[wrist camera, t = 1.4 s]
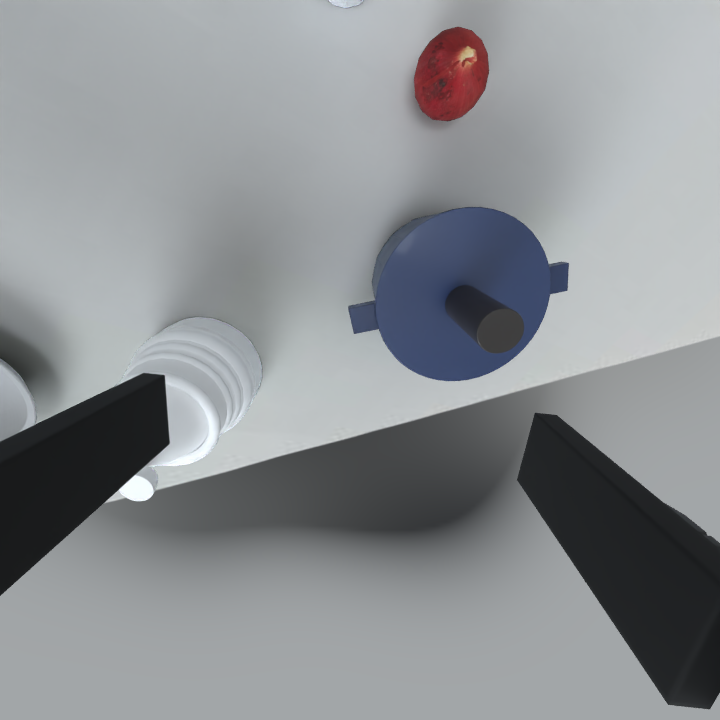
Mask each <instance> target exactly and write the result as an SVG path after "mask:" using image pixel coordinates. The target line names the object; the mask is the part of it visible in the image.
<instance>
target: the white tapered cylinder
mask: <svg viewBox="0 0 720 720" xmlns="http://www.w3.org/2000/svg"><path fill="white" fill-rule="evenodd" d="M328 1H330V2H331V3H332V4H333V5H336V6H340V7H344V8H349V7H353V6H356V5H359V4H360V3H361V2H363V1H364V0H328Z"/></svg>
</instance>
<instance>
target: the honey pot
mask: <svg viewBox="0 0 720 720" xmlns="http://www.w3.org/2000/svg"><path fill="white" fill-rule="evenodd" d="M142 373H150V374H160V375H165V384H166V398H167V412H168V426H169V439H170V444H169V445H168V446H167V447H166V448H165V449H164V450H163V451H161V452H160V453H159V454H158V455H157V456H156V457H155V458H154V459H152V460H151V461H150V462H149V463H148V464H147V465H146V466H145V467H144V468H142V469H141V470H140V471H139V472H138V473H137V474H136V475H135V476H133V477H132V478H131V479H130V480H129V481H128V482H127V483H126V484H125V485H123V486H122V487H121V488H120V489H119V492H120V493H121V494H122V495H123V496H125V497H126V498H128V499H131V500H134V501H144V500H147V499H149V498H150V497H151V496H152V495H153V493H154V491H155V489H156V487H157V483H158V476H157V473H156V471H155V470H154V469H153V468H151V467H156V466H159V465H166V466H179V465H186V464H190V463H193V462H195V461H198V460H200V459H202V458H203V457H205V456H206V455H207V454H208V453H210V452H211V451H212V449H213V448H214V446H215V445H216V444H217V442H218V439H219V436H220V435H222V434H223V433H224V432H225V431H228V430H230V429H231V428H232V427H233V426H235V425H236V424H237V423H238V422H240V421H241V419H242V418H243V417H244V415H245V414H246V412H247V411H248V409H249V407H250V405H251V403H252V401H253V399H254V397H255V396H256V394H257V392H258V390H259V387H260V383H261V380H262V364H261V361H260V358H259V354H258V352H257V351H256V349H255V347H254V346H253V344H252V343H251V341H250V340H249V339H248V338H247V337H246V336H245V335H244V334H243V333H242V332H241V331H239V330H238V329H236V328H234V327H233V326H231V325H229V324H228V323H225V322H222V321H219V320H216V319H213V318H204V317H194V318H188V319H183V320H181V321H179V322H177V323H174V324H172V325H170V326H169V327H167V328H166V329H164V330H162V331H161V332H159V333H158V334H156V335H155V336H153V337H152V338H150V339H148V340H147V341H146V342H145V343H144V344H143V345H142V346H141V347H140V348H139V349H138V350H137V351H136V352H135V354H134V356H133V358H132V360H131V362H130V364H129V368H128V369H127V370H126V371H125V373H124V375H123V377H122V379H121V380H120V381H119V382H118V383H117V384H116V385H115V386H117V385H119V384H121V383H123V382H125V381H127V380H129V379H132V378H134V377H136V376H138V375H140V374H142ZM115 386H114V387H115Z"/></svg>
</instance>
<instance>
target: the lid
mask: <svg viewBox="0 0 720 720" xmlns="http://www.w3.org/2000/svg"><path fill="white" fill-rule="evenodd" d="M550 287H551V281H550V270H549V264H548V261H547V258H546V255H545V252H544V250H543V248H542V246H541V244H540V242H539V241H538V239H537V238H536V237H535V235H534V234H533V233H532V232H531V231H530V230H529V229H528V228H527V227H526V226H525V225H524V224H523V223H522V222H520V221H519V220H517V219H516V218H514V217H512V216H510V215H508V214H506V213H504V212H501V211H498V210H494V209H489V208H483V207H465V208H458V209H452V210H449V211H445V212H442V213H439V214H437V215H435V216H433V217H430V218H428V219H427V220H425V221H423V222H422V223H420V224H419V225H417V226H416V227H415V228H413V229H412V230H411V231H410V232H408V233H407V234H406V235H405V236H404V237H403V238H402V239H401V240H400V241H399V243H398V244H397V245H396V247H395V248H394V249H393V251H392V252H391V253H390V255H389V257H388V259H387V260H386V262H385V264H384V266H383V269H382V271H381V273H380V277H379V280H378V284H377V289H376V296H375V312H376V320H377V323H378V327H379V331H380V333H381V336H382V338H383V341H384V342H385V344H386V346H387V347H388V349H389V350H390V352H391V353H392V354H393V355H394V357H395V358H396V359H397V360H398V361H400V362H401V363H402V364H403V365H404V366H406V367H407V368H408V369H410V370H412V371H414V372H415V373H417V374H419V375H422V376H425V377H428V378H432V379H436V380H443V381H461V380H469V379H473V378H477V377H480V376H483V375H486V374H488V373H490V372H492V371H494V370H496V369H498V368H500V367H502V366H503V365H505V364H506V363H508V362H509V361H510V360H512V359H513V358H514V357H515V356H517V355H518V354H519V353H520V352H521V351H522V350H523V349H524V348H525V347H526V345H527V344H528V343H529V342H530V340H531V339H532V338H533V336H534V335H535V333H536V332H537V330H538V328H539V326H540V324H541V322H542V320H543V318H544V315H545V312H546V309H547V306H548V302H549V297H550Z"/></svg>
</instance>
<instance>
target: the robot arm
mask: <svg viewBox="0 0 720 720" xmlns="http://www.w3.org/2000/svg"><path fill="white" fill-rule="evenodd" d="M169 444H170V439H169V426H168V412H167V398H166V384H165V375H160V374H150V373H142V374H140V375H138V376H136V377H134V378H132V379H129V380H127V381H125V382H123V383H121V384H119V385H117V386H115V387H113V388H111V389H109V390H107V391H104V392H102V393H100V394H98V395H96V396H94V397H92V398H90V399H88V400H86V401H84V402H81V403H79V404H77V405H75V406H73V407H71V408H69V409H67V410H65V411H63V412H61V413H59V414H56V415H54V416H52V417H50V418H48V419H46V420H44V421H42V422H40V423H38V424H36V425H34V426H31V427H29V428H27V429H25V430H23V431H21V432H19V433H17V434H15V435H13V436H11V437H8V438H6V439H4V440H2V441H0V595H1V594H3V593H4V592H5V591H6V590H7V589H8V588H9V587H11V586H12V585H13V584H14V583H15V582H16V581H17V580H18V579H19V578H21V577H22V576H23V575H24V574H25V573H26V572H27V571H28V570H30V569H31V568H32V567H33V566H34V565H35V564H36V563H37V562H38V561H40V560H41V559H42V558H43V557H44V556H45V555H46V554H47V553H49V551H51V550H52V549H53V548H54V547H55V546H56V545H57V544H59V543H60V542H61V541H62V540H63V539H64V538H65V537H66V536H68V535H69V534H70V533H71V532H72V531H73V530H74V529H75V528H76V527H78V526H79V525H80V524H81V523H82V522H83V521H84V520H85V519H86V518H88V517H89V516H90V515H91V514H92V513H93V512H94V511H95V510H96V509H98V508H99V507H100V506H101V505H102V504H103V503H104V502H106V501H107V500H108V499H109V498H110V497H111V496H112V495H113V494H114V493H116V492H117V491H118V490H119V489H120V488H121V487H122V486H123V485H125V484H126V483H127V482H128V481H129V480H130V479H131V478H132V477H133V476H135V475H136V474H137V473H138V472H139V471H140V470H141V469H142V468H144V467H145V466H146V465H147V464H148V463H149V462H150V461H151V460H152V459H154V458H155V457H156V456H157V455H158V454H159V453H160V452H161V451H163V450H164V449H165V448H166V447H167V446H168V445H169ZM517 480H518V482H519V483H520V485H521V486H522V488H523V489H524V491H525V492H526V494H527V495H528V497H529V498H530V500H531V501H532V503H533V504H534V506H535V507H536V509H537V510H538V512H539V513H540V515H541V516H542V518H543V519H544V521H545V522H546V524H547V525H548V526H549V528H550V529H551V531H552V533H553V534H554V536H555V537H556V538H557V540H558V541H559V543H560V544H561V546H562V547H563V549H564V550H565V552H566V553H567V555H568V556H569V558H570V559H571V561H572V562H573V564H574V565H575V567H576V568H577V570H578V571H579V573H580V574H581V576H582V577H583V579H584V580H585V582H586V583H587V585H588V586H589V587H590V589H591V590H592V592H593V594H594V595H595V597H596V598H597V599H598V601H599V603H600V604H601V605H602V607H603V608H604V610H605V611H606V613H607V614H608V616H609V617H610V619H611V620H612V622H613V623H614V625H615V626H616V628H617V629H618V631H619V632H620V634H621V635H622V637H623V638H624V640H625V641H626V643H627V644H628V645H629V647H630V649H631V650H632V651H633V653H634V655H635V656H636V657H637V659H638V660H639V662H640V663H641V665H642V666H643V668H644V669H645V671H646V672H647V674H648V675H649V677H650V678H651V680H652V681H653V683H654V684H655V686H656V687H657V689H658V690H659V692H660V693H661V695H662V696H663V698H664V699H665V701H666V702H667V704H668V705H675V706H685V707H694V708H703V709H710V708H711V706H712V705H713V703H714V701H715V700H716V698H717V696H718V695H719V693H720V543H719V542H718V541H716V540H715V539H714V538H713V537H711V536H707V534H706V532H705V531H704V530H703V529H701V528H700V527H699V526H697V524H695V523H694V522H693V521H692V520H690V519H689V518H688V517H687V516H685V515H684V514H682V513H680V512H679V511H677V510H675V509H674V508H672V507H670V506H668V505H667V504H665V503H663V502H662V501H661V500H660V499H658V498H657V497H656V496H654V495H653V494H652V493H651V492H650V491H649V490H647V489H646V488H645V487H644V486H642V485H641V484H640V483H639V482H638V481H636V480H635V479H634V478H633V477H631V476H630V475H629V474H627V472H625V471H624V470H623V469H622V468H621V467H619V466H618V465H617V464H616V463H614V462H613V461H612V460H611V459H610V458H608V457H607V456H606V455H605V454H603V453H602V452H601V451H600V450H598V449H597V448H596V447H595V446H594V445H593V444H591V443H590V442H589V441H588V440H586V439H585V438H584V437H583V436H581V435H580V434H579V433H578V432H577V431H575V430H574V429H573V428H572V427H570V426H569V425H568V424H567V423H566V422H564V421H563V420H562V419H561V418H560V417H558V416H557V415H551V414H540V413H535V415H534V418H533V422H532V426H531V430H530V433H529V437H528V441H527V445H526V449H525V453H524V456H523V460H522V463H521V467H520V471H519V475H518V479H517Z"/></svg>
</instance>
